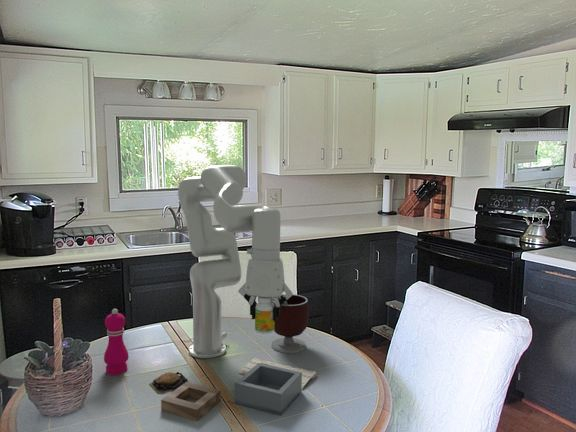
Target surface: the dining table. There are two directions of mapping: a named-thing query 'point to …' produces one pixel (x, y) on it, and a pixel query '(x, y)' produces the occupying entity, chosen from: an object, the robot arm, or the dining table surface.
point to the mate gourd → (291, 324)
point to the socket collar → (189, 409)
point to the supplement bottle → (264, 315)
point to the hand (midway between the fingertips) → (265, 318)
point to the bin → (268, 388)
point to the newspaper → (305, 373)
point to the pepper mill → (115, 344)
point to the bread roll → (168, 382)
